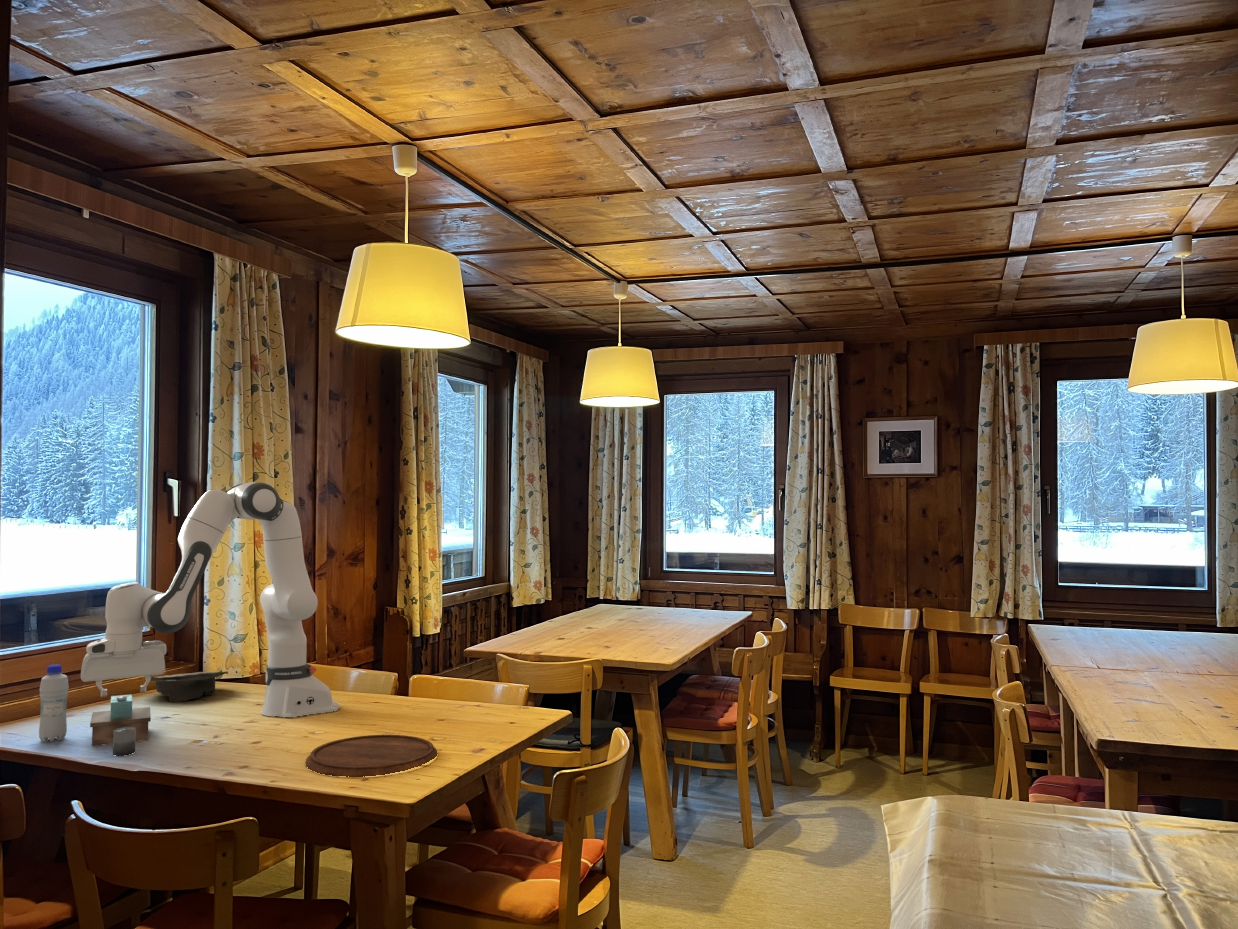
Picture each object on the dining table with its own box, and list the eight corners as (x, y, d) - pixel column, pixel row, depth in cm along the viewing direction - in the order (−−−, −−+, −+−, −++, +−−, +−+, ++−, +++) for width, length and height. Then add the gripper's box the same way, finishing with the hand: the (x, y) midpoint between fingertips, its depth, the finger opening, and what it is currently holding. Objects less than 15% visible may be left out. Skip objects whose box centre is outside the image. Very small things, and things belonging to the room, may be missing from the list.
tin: (135, 750, 233) (135, 726, 234) (135, 754, 229) (135, 730, 229) (112, 752, 231) (113, 728, 231) (112, 757, 227) (113, 733, 227)
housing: (131, 711, 250) (131, 691, 250) (131, 717, 242) (132, 697, 243) (110, 712, 248) (111, 693, 248) (110, 720, 240) (111, 699, 240)
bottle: (36, 744, 238) (38, 667, 239) (39, 738, 244) (41, 663, 244) (66, 741, 241) (68, 665, 242) (68, 735, 247) (70, 661, 248)
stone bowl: (186, 706, 281) (184, 676, 281) (126, 706, 290) (125, 677, 290) (245, 690, 304) (243, 662, 305) (188, 690, 313) (187, 663, 313)
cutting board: (408, 783, 208) (408, 772, 208) (279, 775, 213) (279, 765, 214) (455, 746, 240) (456, 736, 240) (342, 740, 245) (342, 731, 245)
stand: (149, 728, 255) (150, 707, 255) (150, 740, 242) (150, 717, 243) (91, 734, 248) (92, 712, 248) (89, 746, 236) (90, 723, 236)
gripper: (166, 638, 254) (166, 687, 254) (81, 644, 245) (81, 696, 244) (166, 641, 249) (166, 692, 248) (80, 648, 239) (80, 701, 239)
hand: (123, 694), depth 246 cm, fingers open, 8 cm apart
